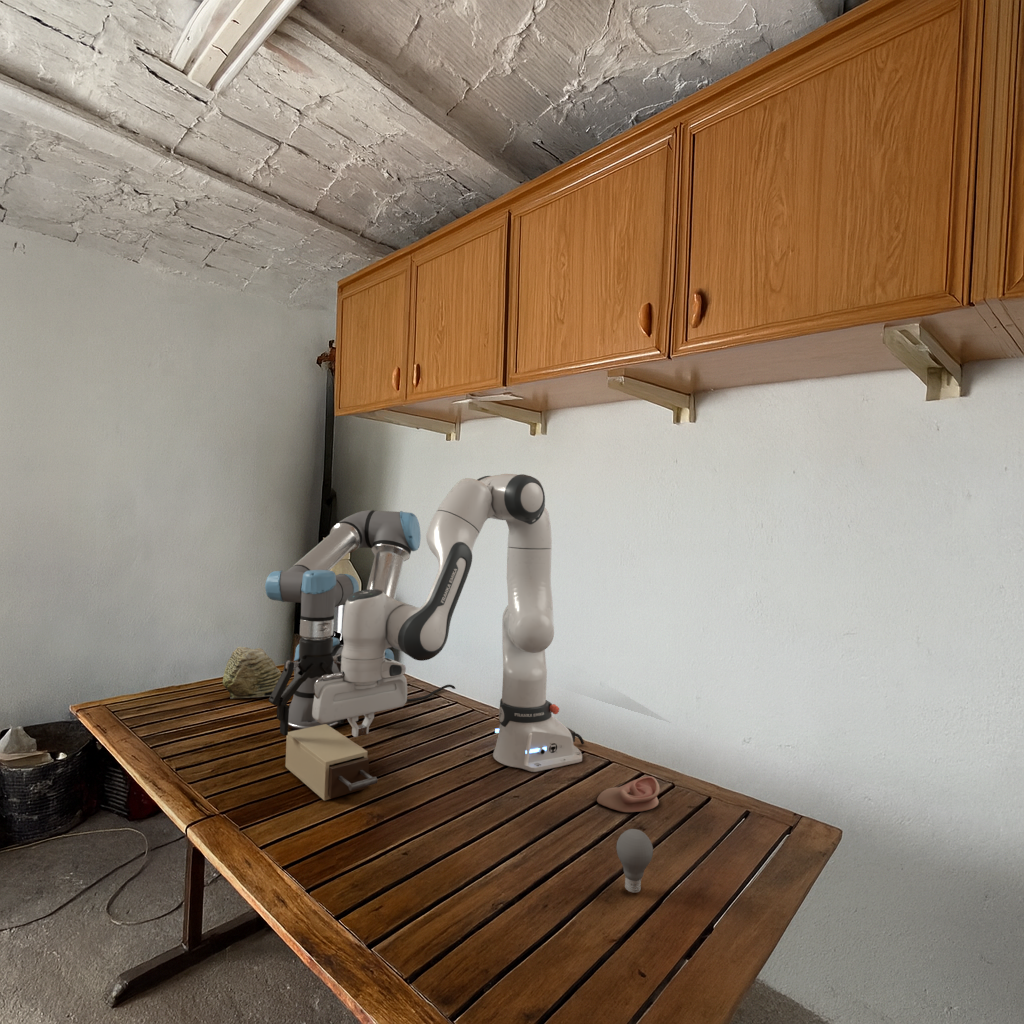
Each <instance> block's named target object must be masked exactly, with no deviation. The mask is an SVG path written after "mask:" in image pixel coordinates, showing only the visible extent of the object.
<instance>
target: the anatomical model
mask: <svg viewBox="0 0 1024 1024" xmlns="http://www.w3.org/2000/svg"><path fill="white" fill-rule="evenodd" d="M660 790H661V788H660V784H659V782H658V781H657V779H656V777H654V776H650V775H647V776H643V777H639V778H637V779H633V780H631V781H629V782H627V783H625V784H622V785H621V786H618V787H617V786H615V787H609V788H606V789H604V790H603V791H601V792H600V793H599V794H598V796H597V797H596V802H597V803H598V804H599V805H600V806H603V807H606V808H608V809H611V810H614V811H617V812H621V813H636V812H637V813H638V812H645V811H649V810H652V809H655V808H657V806H658V805H659V803H660V802H659V799H658V796H659V794H660V792H661V791H660Z"/></svg>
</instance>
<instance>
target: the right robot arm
mask: <svg viewBox="0 0 1024 1024" xmlns="http://www.w3.org/2000/svg"><path fill="white" fill-rule="evenodd" d="M545 506H546V496H545V490H544V487H543V485H542V483H541V482H540V480H539V479H537V478H535V477H534V476H531V475H528V474H522V473H521V474H515V473H502V474H496V475H485V476H482V477H479V478H477V479H475V478H472V477H471V478H469V477H467V478H462V479H459V481H458V482H456V483H455V484H454V486H453V487H452V488H451V489H450V491H448V493H447V494H446V495H445V497H444V499H443V500H442V502H441V503H440V504H439V506H438V508H437V510H436V512H435V513H434V514H433V517H432V518H431V521H430V522H429V525H428V527H427V531H426V534H425V536H426V543H427V546H428V548H429V549H430V551H431V553H432V554H433V555H434V556H435V558H436V559H437V561H438V570H437V574H436V576H435V578H434V580H433V583H432V585H431V588H430V590H429V593H428V595H427V598H426V600H425V602H424V603H423V604H422V606H420V607H418V606H415V605H413V604H409V603H406V602H403V601H399V600H397V599H396V598H395V599H393V598H391V597H389V596H387V595H386V594H385V593H384V592H383V591H381V590H378V589H369V590H368V589H367V588H366V589H362V590H359V591H358V592H355V593H353V594H352V595H350V596H349V597H348V599H347V601H346V604H345V605H344V608H343V614H342V615H343V616H342V629H341V635H342V636H341V637H342V640H343V645H344V646H343V649H342V653H341V672H339V673H334V674H330V675H328V674H326V675H323V676H321V678H319V679H318V680H317V681H316V682H315V684H314V695H315V696H314V701H313V708H312V716H313V718H314V719H315V720H316V721H318V722H319V723H322V724H323V723H328V722H333V721H337V720H342V719H344V720H346V719H347V722H348V723H349V725H350V726H351V735H352V736H353V737H354V738H358V737H362V736H366V735H369V731H370V726H371V724H372V723H373V721H374V719H375V713H379V712H383V711H388V710H393V709H398V708H403V707H404V706H405V705H406V703H407V702H406V701H407V699H408V681H407V677H406V676H405V674H406V670H407V667H406V665H405V664H404V663H401V662H400V661H397V660H395V659H394V660H392V659H388V658H385V650H386V649H387V648H389V649H391V648H394V649H395V650H398V651H399V652H400V651H401V652H403V653H404V654H406V656H408V657H410V658H411V659H413V660H415V661H420V662H421V661H428V660H431V659H433V658H435V657H437V655H439V653H441V652H442V650H443V649H444V647H445V646H446V644H447V641H448V638H449V634H450V626H451V621H452V618H453V615H454V612H455V609H456V607H457V604H458V602H459V599H460V597H461V594H462V591H463V590H464V586H465V583H466V581H467V578H468V577H469V573H470V570H471V567H472V563H473V551H474V547H475V544H476V542H477V539H478V538H479V535H480V533H481V531H482V530H483V528H484V525H485V523H486V521H488V519H492V520H498V521H499V520H500V521H505V522H506V524H507V528H508V533H507V552H506V553H507V555H506V556H507V557H506V585H507V586H506V587H507V605H506V607H505V608H504V610H503V613H502V622H501V623H502V629H501V631H502V634H501V635H502V636H501V637H502V638H501V639H502V643H501V644H502V687H501V688H502V689H501V698H500V700H499V708H498V722H499V727H498V728H494V729H495V730H494V733H496V734H497V737H496V743H495V747H494V750H493V753H492V757H493V759H494V760H495V761H497V762H498V763H499V764H502V765H504V766H507V767H511V768H515V769H516V768H517V769H522V770H525V771H528V772H531V773H538V772H542V771H545V770H550V769H556V768H560V767H564V766H568V765H574V764H578V763H582V762H583V753H582V752H581V750H580V749H579V747H577V746H576V745H575V744H574V743H575V742H576V738H578V740H579V742H580V744H581V745H584V744H585V741H584V739H583V737H582V736H581V735H580V734H579V733H576V731H575V730H572V729H571V728H569V727H568V726H566V725H564V723H562V722H561V721H560V720H559V719H557V718H556V717H555V716H553V715H552V714H554V715H558V714H559V713H560V707H559V705H556V704H555V703H552V702H550V701H549V700H547V681H548V679H547V678H548V668H547V660H546V659H547V658H546V657H547V656H546V649H548V648H549V646H550V645H551V644H552V642H553V640H554V636H555V626H554V625H555V624H554V606H553V602H554V601H553V590H552V550H553V549H552V548H553V547H552V546H553V545H552V544H553V543H552V541H553V540H552V537H553V536H552V524H551V518H550V513H549V511H548V509H547V508H546V507H545ZM320 680H322V681H320ZM360 716H364V718H363V720H362V723H361V724H357V722H358V721H359V717H360Z"/></svg>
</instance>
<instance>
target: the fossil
mask: <svg viewBox="0 0 1024 1024" xmlns="http://www.w3.org/2000/svg"><path fill="white" fill-rule="evenodd" d="M281 674H282V672H281V669H279V668H278V667H277V665H276V663H275V662H274V660H273V659H272V658H271V657H270V656H269V655H268V654H267V653H266V652H265V650H264V649H263V648H260V647H258V648H251V647H247V646H246V647H245V646H238V647H237V648H236V649H235V650H233V651H232V653H231V656H230V657H229V659H228V660H227V663H226V666H225V668H224V671H223V675H222V676H223V677H222V685H223V687H224V688H225V690H226V691H228V693H229V698H230V699H250V698H264V697H270V696H271V694H272V692H273V690H274V688H275V686H276V684H277V682H278V680H279V678H280V676H281ZM287 687H288V685H287V686H286V688H287ZM286 688H285V689H286Z"/></svg>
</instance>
